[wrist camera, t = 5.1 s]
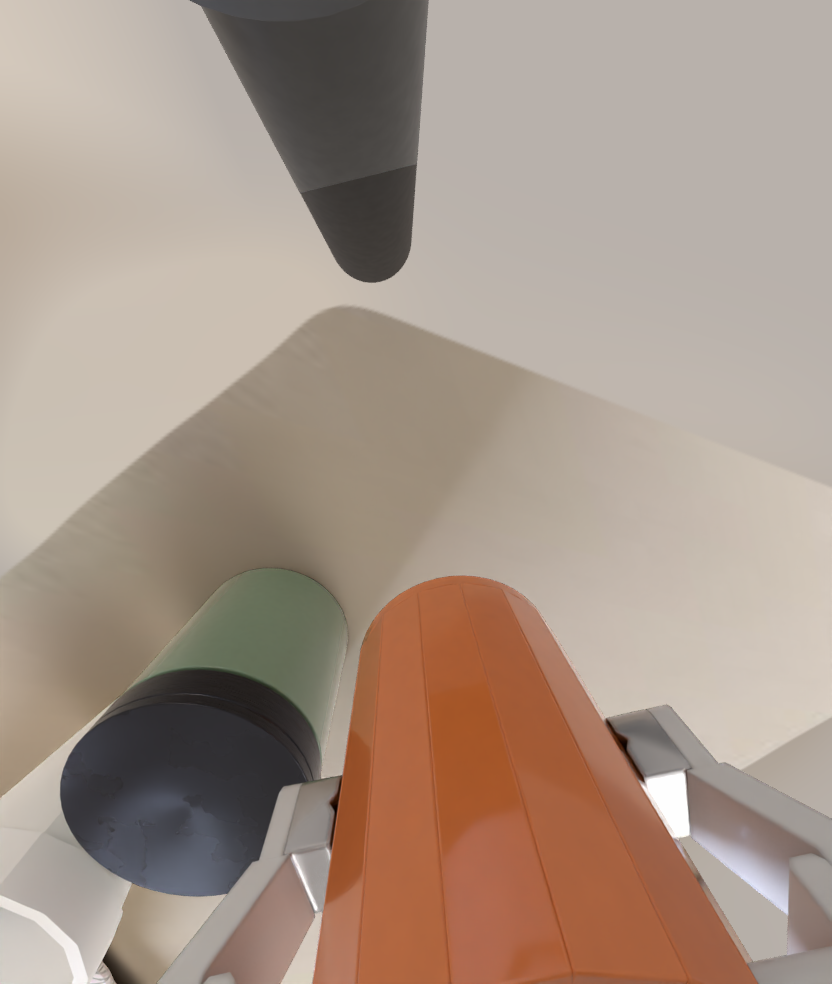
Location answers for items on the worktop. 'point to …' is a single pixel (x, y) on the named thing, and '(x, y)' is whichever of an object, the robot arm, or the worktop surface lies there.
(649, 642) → the worktop surface
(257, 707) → the jar lid
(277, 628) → the jar
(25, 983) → the foam cup
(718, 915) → the cup
